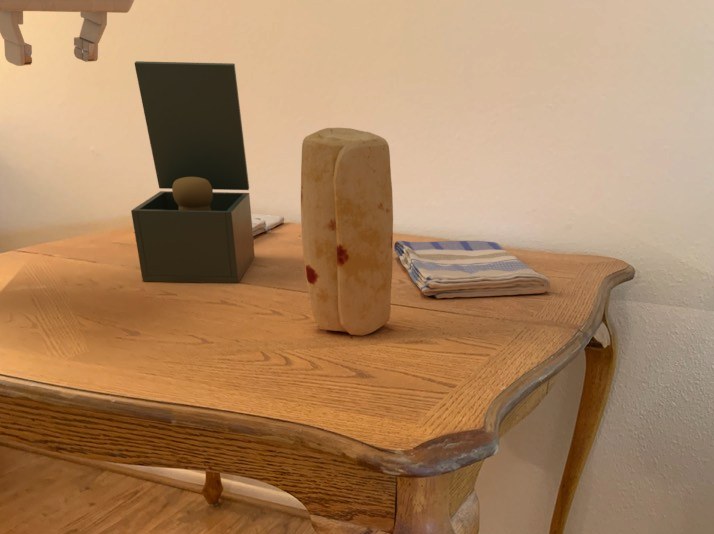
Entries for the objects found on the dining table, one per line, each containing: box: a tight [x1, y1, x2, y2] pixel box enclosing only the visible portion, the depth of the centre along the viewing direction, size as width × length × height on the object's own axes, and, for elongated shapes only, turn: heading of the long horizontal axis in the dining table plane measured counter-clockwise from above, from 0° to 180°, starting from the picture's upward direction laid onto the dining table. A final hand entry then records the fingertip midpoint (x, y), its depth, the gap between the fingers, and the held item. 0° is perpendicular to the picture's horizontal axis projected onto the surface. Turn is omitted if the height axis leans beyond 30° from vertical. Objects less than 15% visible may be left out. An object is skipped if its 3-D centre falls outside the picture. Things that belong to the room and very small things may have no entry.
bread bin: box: [130, 190, 255, 284], centre depth 105 cm, size 15×13×9 cm
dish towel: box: [393, 240, 551, 300], centre depth 107 cm, size 17×24×3 cm
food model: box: [300, 127, 394, 337], centre depth 81 cm, size 10×7×20 cm
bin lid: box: [134, 60, 250, 191], centre depth 105 cm, size 16×13×5 cm
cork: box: [171, 177, 214, 211], centre depth 103 cm, size 6×6×11 cm
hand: (53, 61), depth 76 cm, fingers open, 8 cm apart
